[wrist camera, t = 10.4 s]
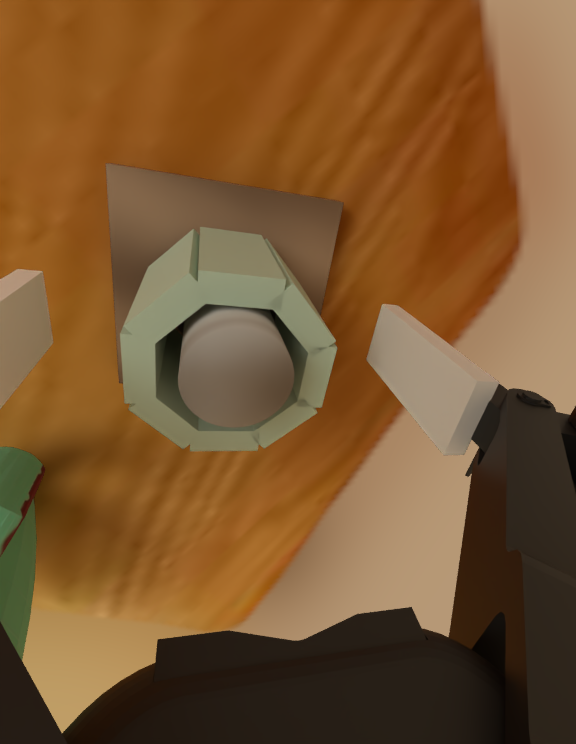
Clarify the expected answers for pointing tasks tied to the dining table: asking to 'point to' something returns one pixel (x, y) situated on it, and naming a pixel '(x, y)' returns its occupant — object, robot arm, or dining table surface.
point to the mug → (17, 540)
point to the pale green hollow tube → (231, 288)
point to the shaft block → (213, 322)
